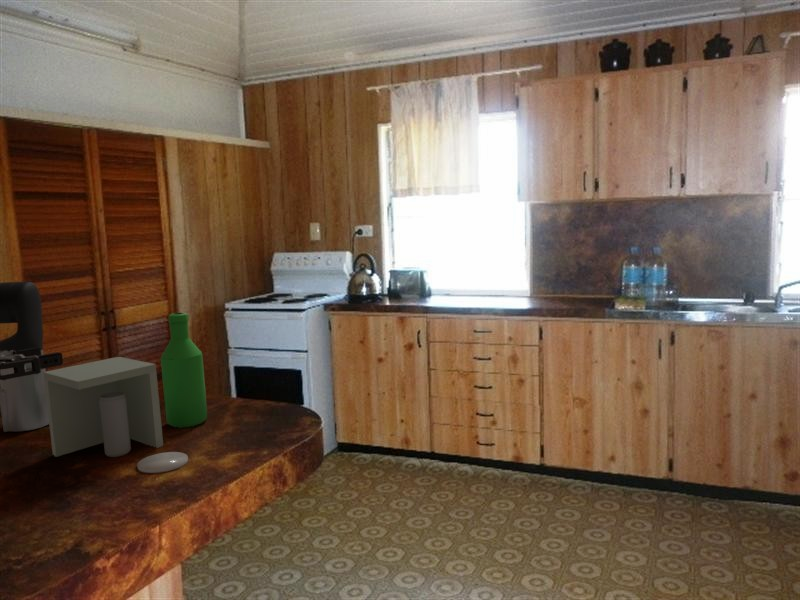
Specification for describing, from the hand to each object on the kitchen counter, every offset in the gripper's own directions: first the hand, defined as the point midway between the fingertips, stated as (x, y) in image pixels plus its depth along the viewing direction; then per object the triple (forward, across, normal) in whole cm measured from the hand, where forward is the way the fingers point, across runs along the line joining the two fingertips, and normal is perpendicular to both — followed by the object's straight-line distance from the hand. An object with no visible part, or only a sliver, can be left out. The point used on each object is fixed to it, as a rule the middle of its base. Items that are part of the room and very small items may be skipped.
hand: (50, 355), depth 114 cm
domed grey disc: (+15, -8, +23) cm, 28 cm away
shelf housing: (+12, +8, +23) cm, 27 cm away
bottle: (+32, +10, +23) cm, 40 cm away
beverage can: (+13, +5, +23) cm, 27 cm away
